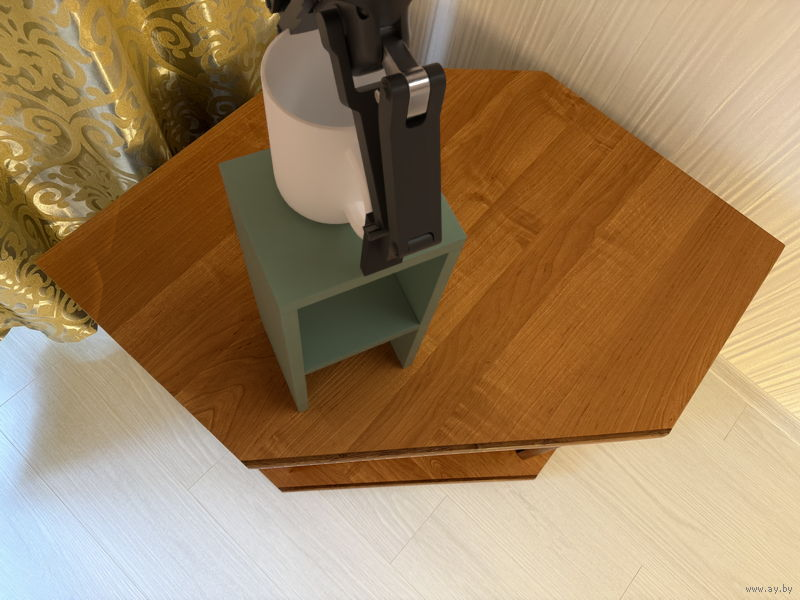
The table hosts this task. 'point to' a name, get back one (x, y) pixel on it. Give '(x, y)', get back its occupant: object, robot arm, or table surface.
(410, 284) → the shelf
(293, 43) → the mug
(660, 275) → the table surface
